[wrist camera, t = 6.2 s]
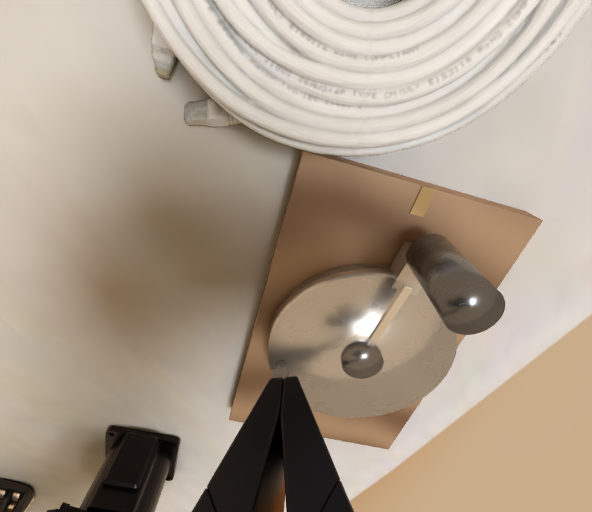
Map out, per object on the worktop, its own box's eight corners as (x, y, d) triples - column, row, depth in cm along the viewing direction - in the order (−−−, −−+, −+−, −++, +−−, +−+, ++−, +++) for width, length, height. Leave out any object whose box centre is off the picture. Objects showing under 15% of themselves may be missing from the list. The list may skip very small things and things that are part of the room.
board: (384, 433, 29) (388, 450, 28) (232, 403, 28) (228, 420, 26) (526, 211, 19) (543, 221, 18) (303, 146, 18) (303, 151, 16)
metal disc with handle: (391, 415, 26) (418, 511, 20) (247, 375, 24) (230, 467, 18) (518, 259, 19) (613, 333, 13) (333, 185, 17) (350, 234, 11)
